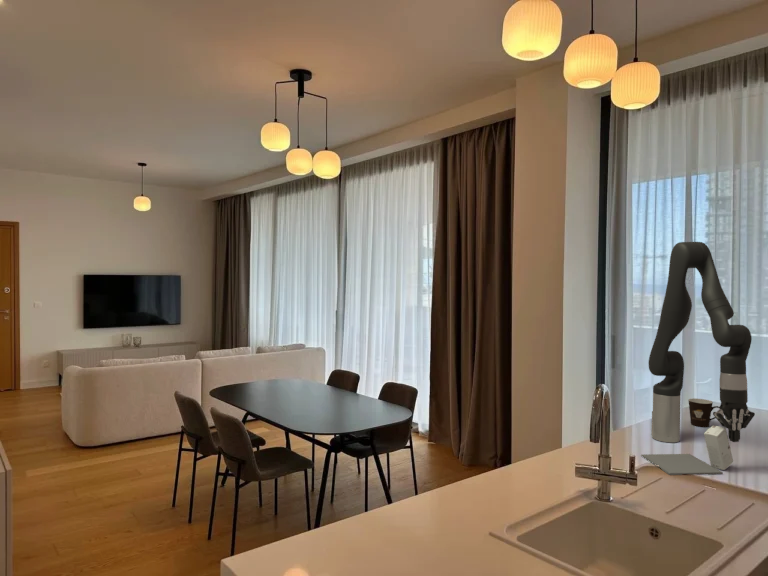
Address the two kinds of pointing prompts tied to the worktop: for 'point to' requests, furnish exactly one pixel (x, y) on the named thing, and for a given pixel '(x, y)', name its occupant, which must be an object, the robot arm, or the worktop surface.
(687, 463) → the mat
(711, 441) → the skincare box
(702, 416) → the coffee mug
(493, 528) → the worktop surface
